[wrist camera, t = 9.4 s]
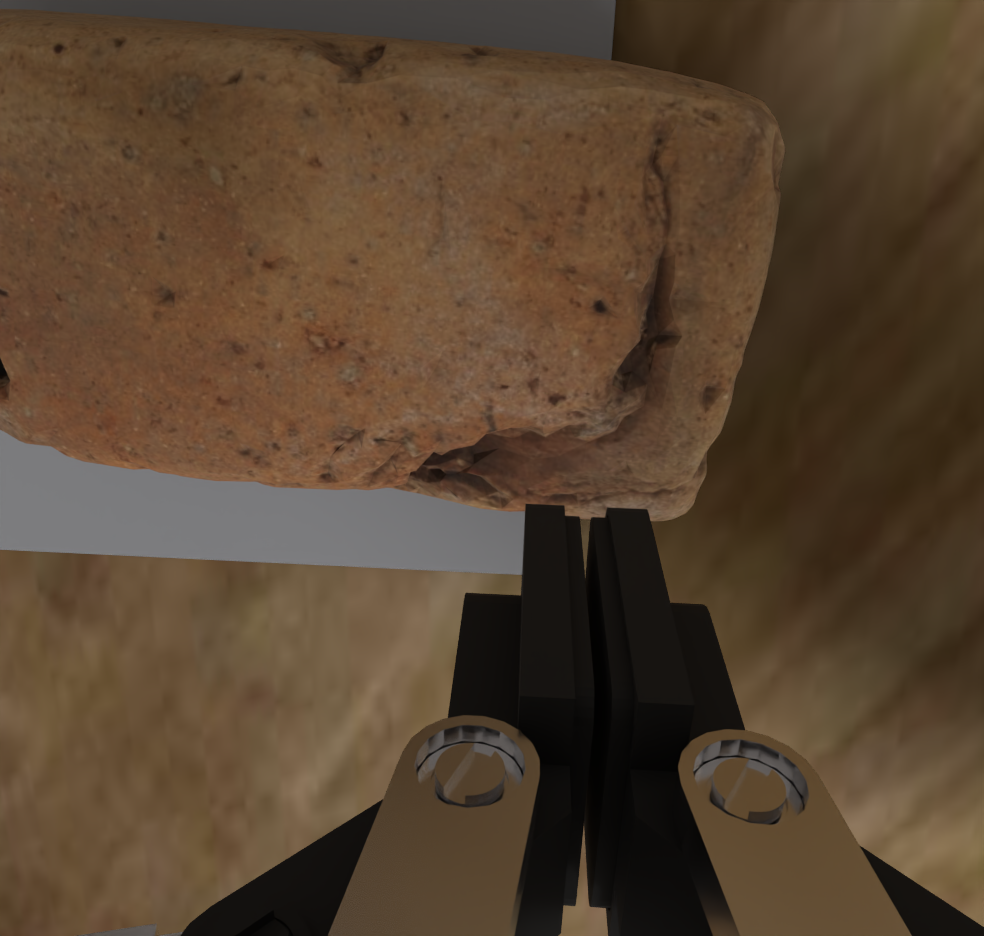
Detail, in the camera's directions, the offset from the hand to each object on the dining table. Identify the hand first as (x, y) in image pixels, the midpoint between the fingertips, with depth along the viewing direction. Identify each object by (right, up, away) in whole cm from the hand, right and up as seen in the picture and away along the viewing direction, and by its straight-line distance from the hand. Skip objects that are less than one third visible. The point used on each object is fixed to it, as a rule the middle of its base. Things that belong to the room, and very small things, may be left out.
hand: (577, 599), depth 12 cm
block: (+5, +5, +9) cm, 12 cm away
